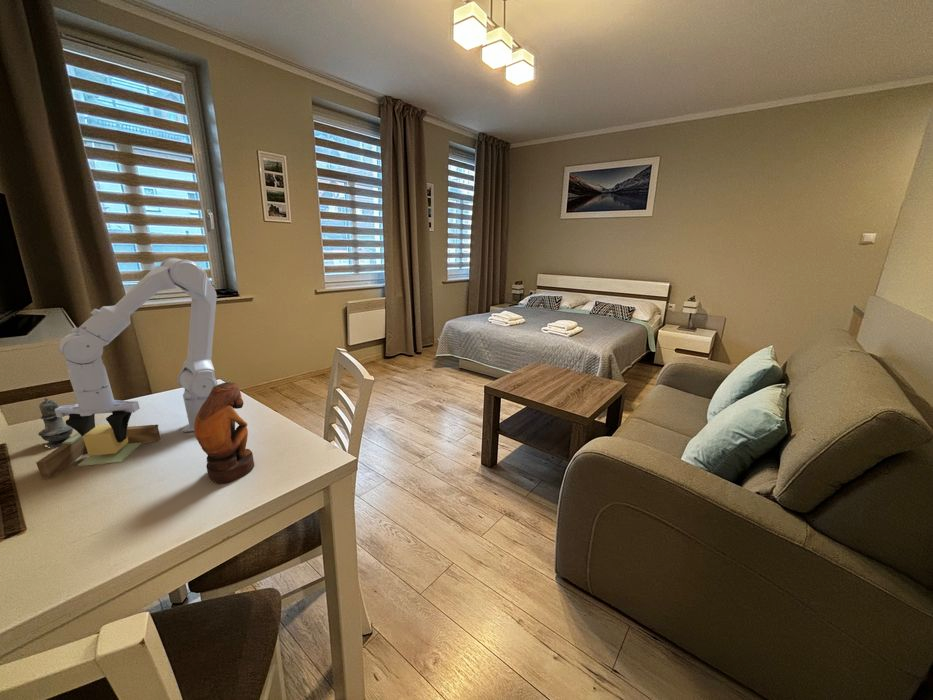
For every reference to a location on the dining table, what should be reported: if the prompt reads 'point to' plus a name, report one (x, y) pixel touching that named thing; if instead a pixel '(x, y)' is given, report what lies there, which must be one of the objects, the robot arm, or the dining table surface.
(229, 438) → the figurine
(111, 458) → the sage pad
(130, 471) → the dining table surface
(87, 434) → the ochre block
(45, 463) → the walnut walls
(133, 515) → the dining table surface
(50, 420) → the grey stone finial
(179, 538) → the dining table surface
